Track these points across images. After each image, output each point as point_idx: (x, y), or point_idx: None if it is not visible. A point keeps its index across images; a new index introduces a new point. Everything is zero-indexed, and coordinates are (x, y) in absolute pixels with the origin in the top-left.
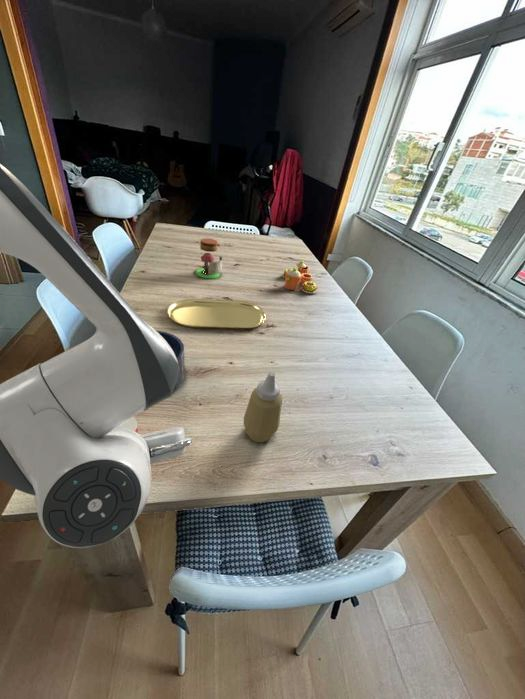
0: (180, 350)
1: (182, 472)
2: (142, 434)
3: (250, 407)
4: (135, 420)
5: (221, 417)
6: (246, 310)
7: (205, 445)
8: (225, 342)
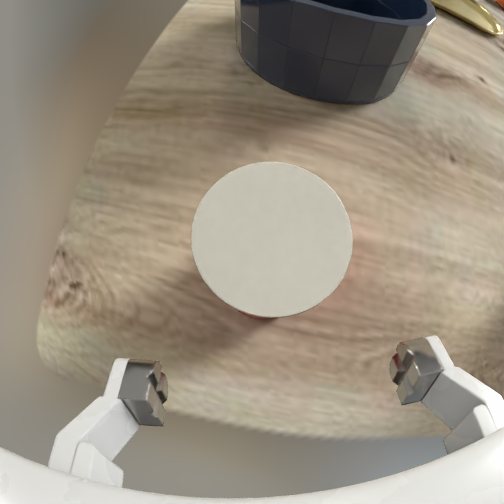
0: (412, 5)
1: None
2: (472, 477)
3: None
4: (344, 214)
5: (495, 217)
6: (465, 2)
7: (468, 297)
8: (456, 34)
